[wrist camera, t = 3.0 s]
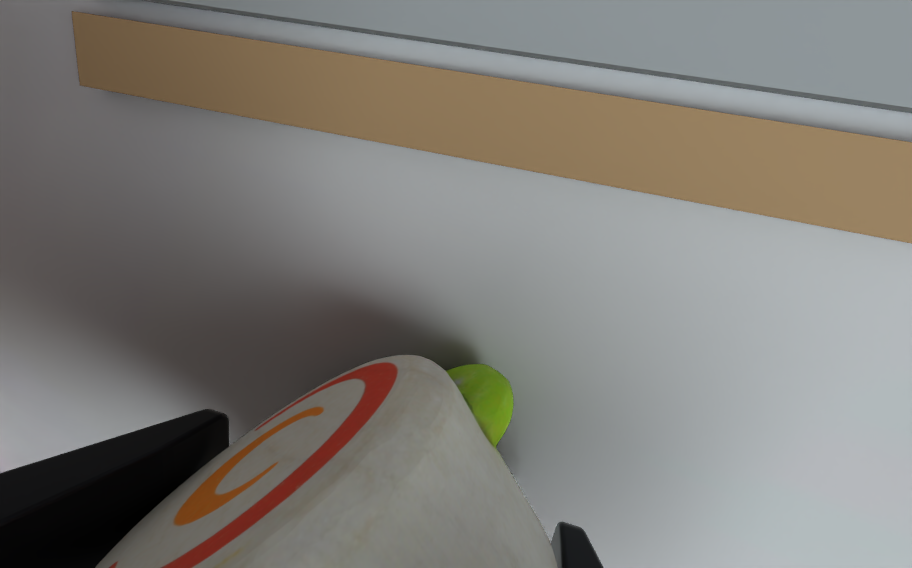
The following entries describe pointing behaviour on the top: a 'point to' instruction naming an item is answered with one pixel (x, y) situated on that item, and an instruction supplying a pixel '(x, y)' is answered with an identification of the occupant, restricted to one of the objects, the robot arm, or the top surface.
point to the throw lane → (568, 91)
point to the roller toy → (357, 482)
